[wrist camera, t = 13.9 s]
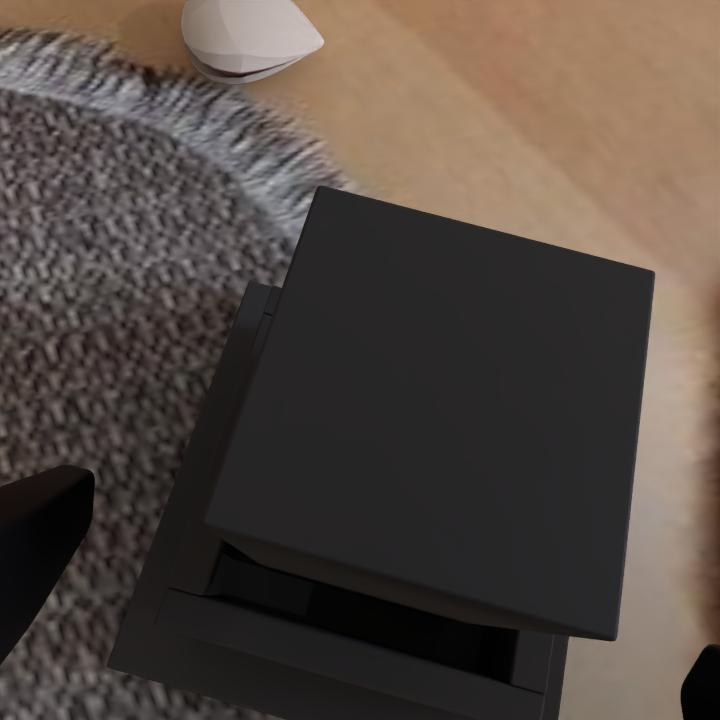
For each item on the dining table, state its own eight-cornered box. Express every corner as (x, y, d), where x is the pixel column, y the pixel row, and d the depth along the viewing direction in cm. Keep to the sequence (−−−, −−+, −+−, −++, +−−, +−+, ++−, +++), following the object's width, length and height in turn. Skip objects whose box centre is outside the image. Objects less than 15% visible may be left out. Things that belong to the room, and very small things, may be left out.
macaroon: (206, 6, 25) (194, -57, 22) (334, 28, 25) (335, -33, 22) (177, 92, 23) (160, 34, 21) (313, 115, 23) (312, 60, 21)
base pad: (535, 785, 16) (601, 840, 12) (117, 663, 16) (57, 680, 13) (590, 384, 20) (652, 333, 16) (252, 294, 20) (236, 225, 17)
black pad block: (447, 621, 16) (617, 643, 7) (267, 569, 16) (198, 524, 7) (483, 443, 18) (657, 270, 9) (319, 398, 18) (318, 183, 9)
